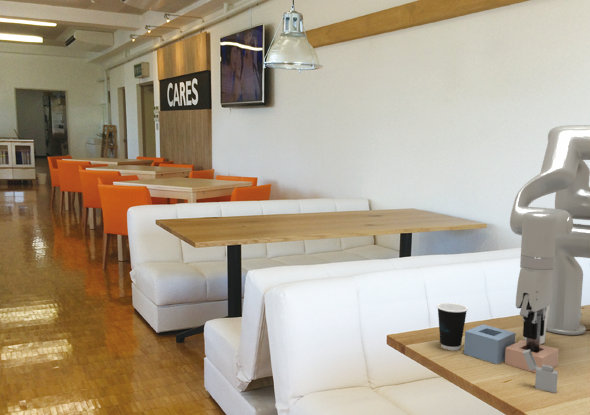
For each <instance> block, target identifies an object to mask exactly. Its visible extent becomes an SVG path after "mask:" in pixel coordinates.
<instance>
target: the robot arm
mask: <svg viewBox="0 0 590 415" xmlns="http://www.w3.org/2000/svg"><path fill="white" fill-rule="evenodd" d="M547 134H548V135H547V146H546V149H545V154H544V158H543V159H542V160H543V161H542V165H541V170H540V173H538V174H537V175H535V176H534V177H532V178H531V179H530V180H528V182H526V183H525V184H524V185H523V186H522V187H521V188H520V189H519V191H518V192H517V193H516V195H515V198H514V201H513V205H512V209H511V213H510V218H509V226H510V230H511V231H512V232H513V233H514V234H515V235H518V236H521V240H520V241H521V244H520V245H521V246H520V261H519V264H520V265H519V267H520V270H519V274H518V280H517V287H516V295H515V308H517V309H520V312H519V315H520V316H522V322H523V328H522V329H523V330H522V336H523V338H524V337H526V338H530V339H534V340H535V339H537V327H538V323H536V318H537V311H538V310H541V309H543V314H541V329H540V336H543V335H544V322H545V320H544V319H545V317H546V309H547V307H548V306H549V305H550V308H549V315H548V321H547V327H546V332H549V333H554V334H559V335H566V336H567V335H568V336H578V335H582V334H584V333H586V329H587V328H586V326H584V325H583V324H581V318H582V317H583V314H582V311H581V310H582V298H583V297H582V296H583V283H584V271H583V269H582V266H581V265H580V263H579V262H578V261H577V259H576V258H584V259H590V224H582V223H574V220H583V221H590V168H589V167H588V164H587V163H586V161H590V124H573V125H572V124H571V125H567V124H566V125H560V126H555V127H553V128H551V129H550V130H549V131H548V133H547ZM554 193H555V196H554V208H551V207H550V208H548V207H539V206H538V207H536V206H530V205H531V203H533V202H534V201H536V200H537V199H539V198H541V197H544V196H548V195H550V194H551V195H552V194H554ZM529 307H531V308H532V309H529ZM528 312H530V313H533V315H531V314H529V313H528Z"/></svg>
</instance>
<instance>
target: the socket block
mask: <svg viewBox="0 0 590 415" xmlns="http://www.w3.org/2000/svg"><path fill="white" fill-rule="evenodd" d="M515 343H516V332H514V331H510V330H507V329H502V328H499V327H494V326H491V325H487V324H481V325H478V326H475V327H473V328H469V329H467V330H465V331H464V345H463V347H464V348H463V349H464V350H463V354H464V355H466V356H469V357H472V358H476V359H480V360H482V361H486V362H489V363H492V364H495V365H499V364H500V363H502V362H505V350H506V347H508V346H510V345H513V344H515Z"/></svg>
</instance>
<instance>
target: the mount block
mask: <svg viewBox="0 0 590 415" xmlns="http://www.w3.org/2000/svg"><path fill="white" fill-rule="evenodd" d="M524 350H526V341H525V340H524V339H522V340H519V341H517V342H515V344H513V345H510V346H508V347H506V350H505V361H504V364H506V365H509V366H512V367H515V368H518V369H522V370H525V371H527V372H528V371H529V372H531V373H534V374H536V369H535V370H530V369H529V367H528V365H527V362H526V360H525V358H524V355H523V351H524ZM559 350H560V349H558V348H555V347H551V346H547V345H543V344H540V346H539V352H538V353H535V352H532V351H531V353H532V355H533V357H534V360H535V362H536V364H537V367H540V368H542V365H548V366H552V367H553V368H556V367H557V366H558V364H559V353H560V352H559Z"/></svg>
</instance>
